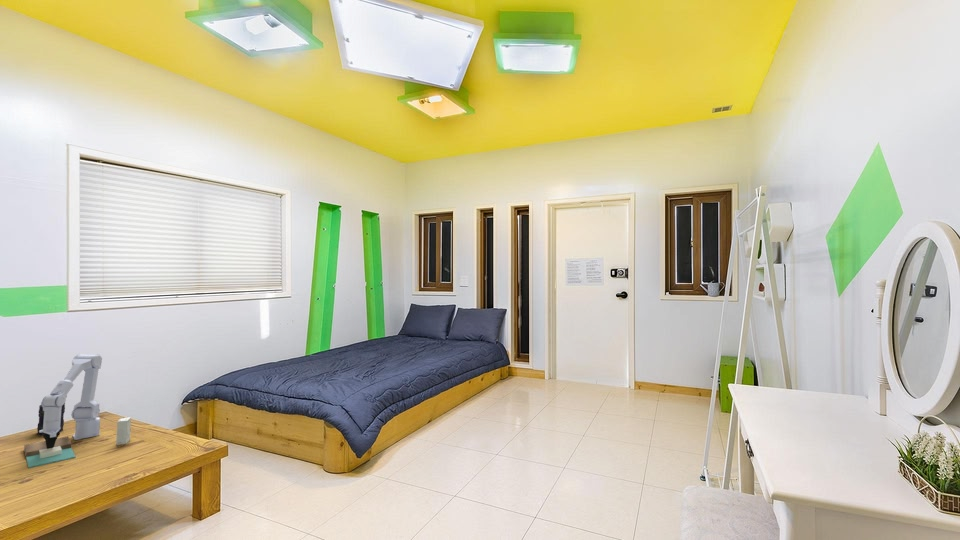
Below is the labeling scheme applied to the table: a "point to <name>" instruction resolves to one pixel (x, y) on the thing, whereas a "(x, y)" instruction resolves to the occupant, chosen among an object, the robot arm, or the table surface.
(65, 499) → the table surface
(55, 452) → the ceramic tile
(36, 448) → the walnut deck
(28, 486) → the table surface
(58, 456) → the teal mat
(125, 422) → the skincare box
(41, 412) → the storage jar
